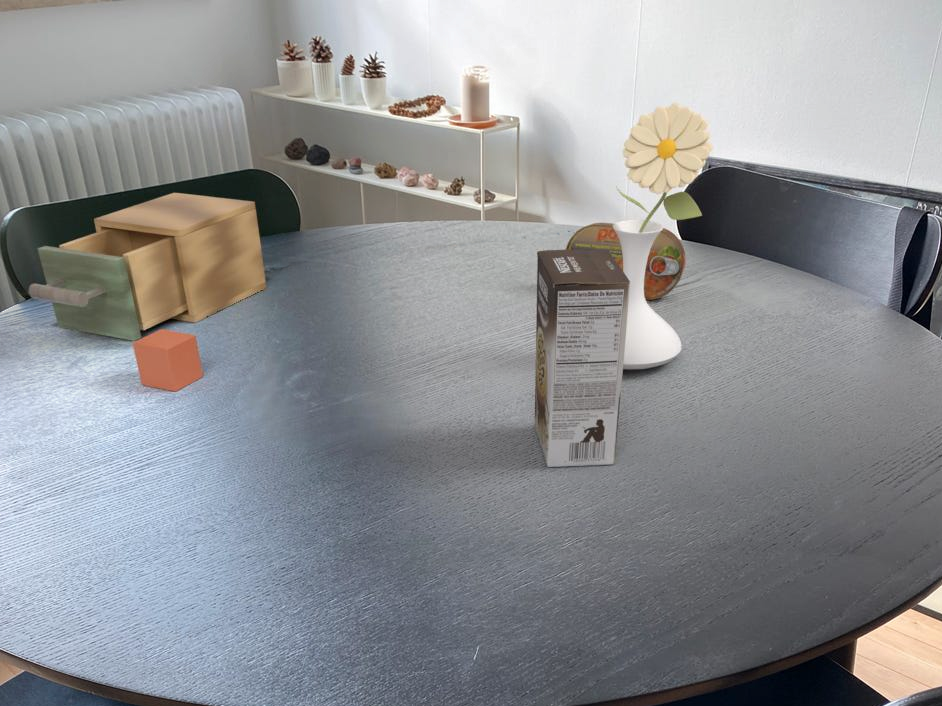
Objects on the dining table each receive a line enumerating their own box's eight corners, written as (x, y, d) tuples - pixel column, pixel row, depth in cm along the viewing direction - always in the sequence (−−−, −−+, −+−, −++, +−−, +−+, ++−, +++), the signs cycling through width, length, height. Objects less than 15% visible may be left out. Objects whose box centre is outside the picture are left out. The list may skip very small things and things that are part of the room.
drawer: (105, 354, 107) (85, 271, 102) (28, 339, 111) (4, 259, 106) (210, 305, 120) (196, 229, 115) (137, 293, 124) (121, 219, 119)
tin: (562, 291, 126) (565, 221, 121) (569, 284, 128) (572, 215, 123) (678, 304, 121) (686, 232, 116) (683, 296, 124) (691, 226, 119)
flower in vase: (552, 361, 106) (562, 101, 91) (615, 333, 113) (634, 87, 98) (652, 393, 99) (680, 116, 84) (713, 361, 106) (749, 100, 91)
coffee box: (531, 425, 93) (535, 249, 84) (598, 422, 94) (610, 246, 84) (544, 469, 86) (550, 281, 76) (617, 465, 86) (632, 278, 77)
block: (175, 392, 101) (167, 349, 98) (141, 385, 102) (131, 342, 100) (203, 376, 104) (195, 334, 101) (169, 370, 105) (161, 328, 103)
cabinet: (195, 323, 117) (178, 229, 111) (114, 309, 122) (93, 218, 116) (266, 288, 128) (255, 201, 122) (189, 276, 132) (174, 192, 126)
